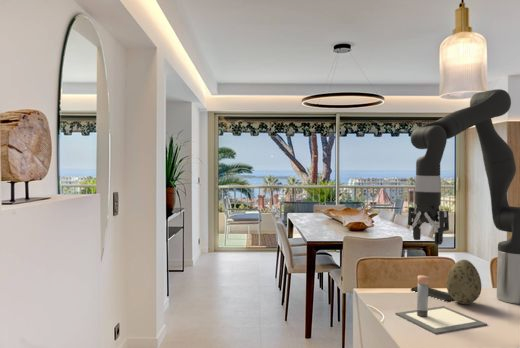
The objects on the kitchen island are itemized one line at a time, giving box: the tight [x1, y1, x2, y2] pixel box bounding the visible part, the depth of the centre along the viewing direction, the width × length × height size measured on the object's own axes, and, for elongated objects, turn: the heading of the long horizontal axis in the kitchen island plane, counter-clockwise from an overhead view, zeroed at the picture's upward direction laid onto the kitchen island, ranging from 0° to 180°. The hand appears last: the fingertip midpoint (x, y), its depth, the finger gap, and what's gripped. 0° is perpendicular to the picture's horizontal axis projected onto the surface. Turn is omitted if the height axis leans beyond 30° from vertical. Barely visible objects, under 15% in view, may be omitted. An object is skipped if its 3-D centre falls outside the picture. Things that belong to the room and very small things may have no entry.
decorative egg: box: [445, 259, 482, 305], centre depth 136 cm, size 11×11×15 cm
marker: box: [416, 274, 430, 317], centre depth 121 cm, size 3×3×12 cm
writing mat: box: [395, 305, 488, 335], centre depth 120 cm, size 20×16×1 cm
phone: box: [410, 286, 455, 302], centre depth 145 cm, size 8×1×15 cm
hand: (427, 242), depth 124 cm, fingers open, 8 cm apart
